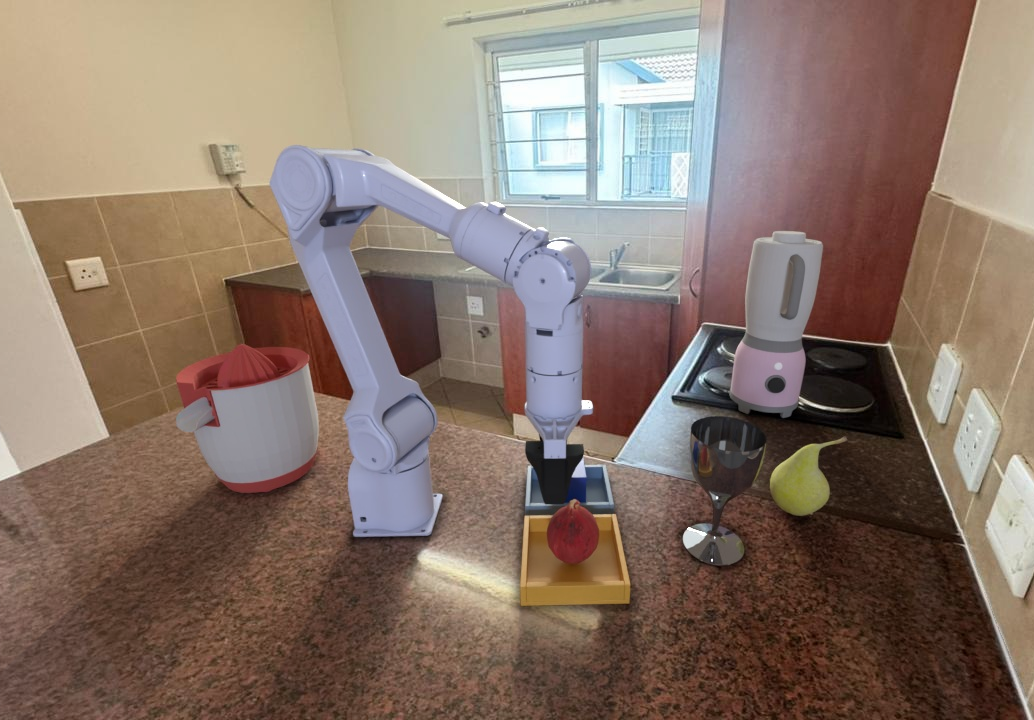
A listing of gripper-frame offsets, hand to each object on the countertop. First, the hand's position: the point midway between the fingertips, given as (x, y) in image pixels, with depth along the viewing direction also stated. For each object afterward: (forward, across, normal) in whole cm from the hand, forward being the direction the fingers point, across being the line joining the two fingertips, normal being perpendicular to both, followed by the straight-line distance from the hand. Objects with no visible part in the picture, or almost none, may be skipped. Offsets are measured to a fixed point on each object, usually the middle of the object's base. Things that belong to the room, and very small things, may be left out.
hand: (553, 480), depth 55 cm
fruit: (+10, +7, -32) cm, 34 cm away
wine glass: (+10, +1, -19) cm, 22 cm away
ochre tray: (+10, -2, -2) cm, 10 cm away
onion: (+10, -2, -2) cm, 10 cm away
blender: (+10, +37, -40) cm, 56 cm away
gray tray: (+10, +10, -2) cm, 14 cm away
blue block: (+9, +10, -2) cm, 14 cm away
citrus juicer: (+10, +17, +42) cm, 46 cm away
